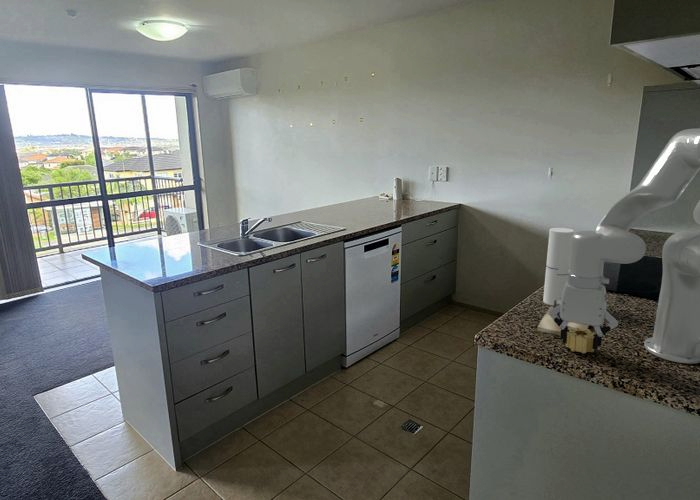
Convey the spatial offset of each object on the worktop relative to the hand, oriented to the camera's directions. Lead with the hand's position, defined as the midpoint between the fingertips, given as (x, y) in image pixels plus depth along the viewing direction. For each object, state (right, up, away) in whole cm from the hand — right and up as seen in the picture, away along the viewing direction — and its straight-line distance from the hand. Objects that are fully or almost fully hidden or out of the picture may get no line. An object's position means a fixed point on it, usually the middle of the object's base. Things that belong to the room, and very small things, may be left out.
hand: (580, 344), depth 112 cm
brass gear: (0, -1, 0) cm, 1 cm away
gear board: (+4, +3, +16) cm, 17 cm away
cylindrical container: (+9, +7, +33) cm, 35 cm away
